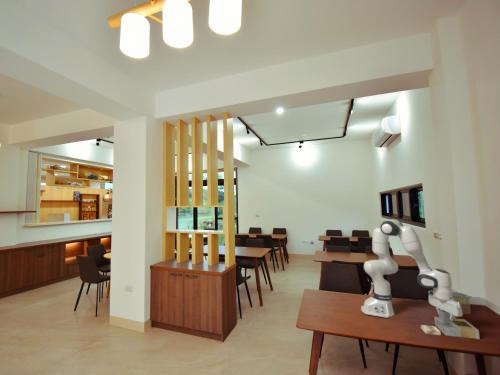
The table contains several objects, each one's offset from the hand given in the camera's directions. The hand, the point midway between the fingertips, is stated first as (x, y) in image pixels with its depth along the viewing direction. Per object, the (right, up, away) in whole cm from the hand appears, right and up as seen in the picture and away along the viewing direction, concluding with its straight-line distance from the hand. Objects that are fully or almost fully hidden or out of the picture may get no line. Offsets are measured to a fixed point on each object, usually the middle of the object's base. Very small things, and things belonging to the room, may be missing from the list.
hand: (445, 317), depth 152 cm
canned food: (+33, -10, +26) cm, 43 cm away
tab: (-11, -8, -2) cm, 14 cm away
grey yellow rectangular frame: (+4, -8, -2) cm, 9 cm away
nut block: (0, -1, 0) cm, 1 cm away
